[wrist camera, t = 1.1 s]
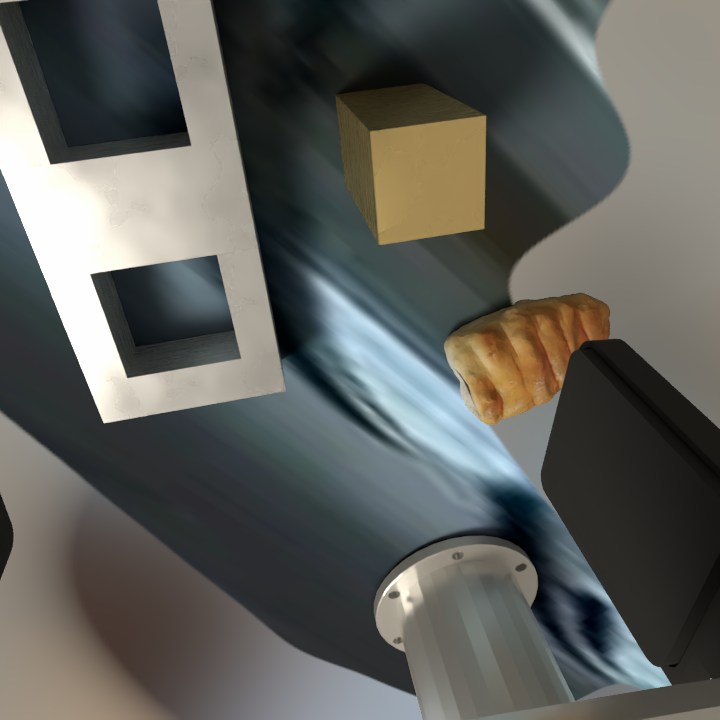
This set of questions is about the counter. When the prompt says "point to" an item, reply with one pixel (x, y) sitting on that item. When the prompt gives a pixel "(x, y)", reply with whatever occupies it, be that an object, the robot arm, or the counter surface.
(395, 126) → the wooden block
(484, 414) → the pastry
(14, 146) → the board with square holes
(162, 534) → the counter surface
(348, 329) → the counter surface
